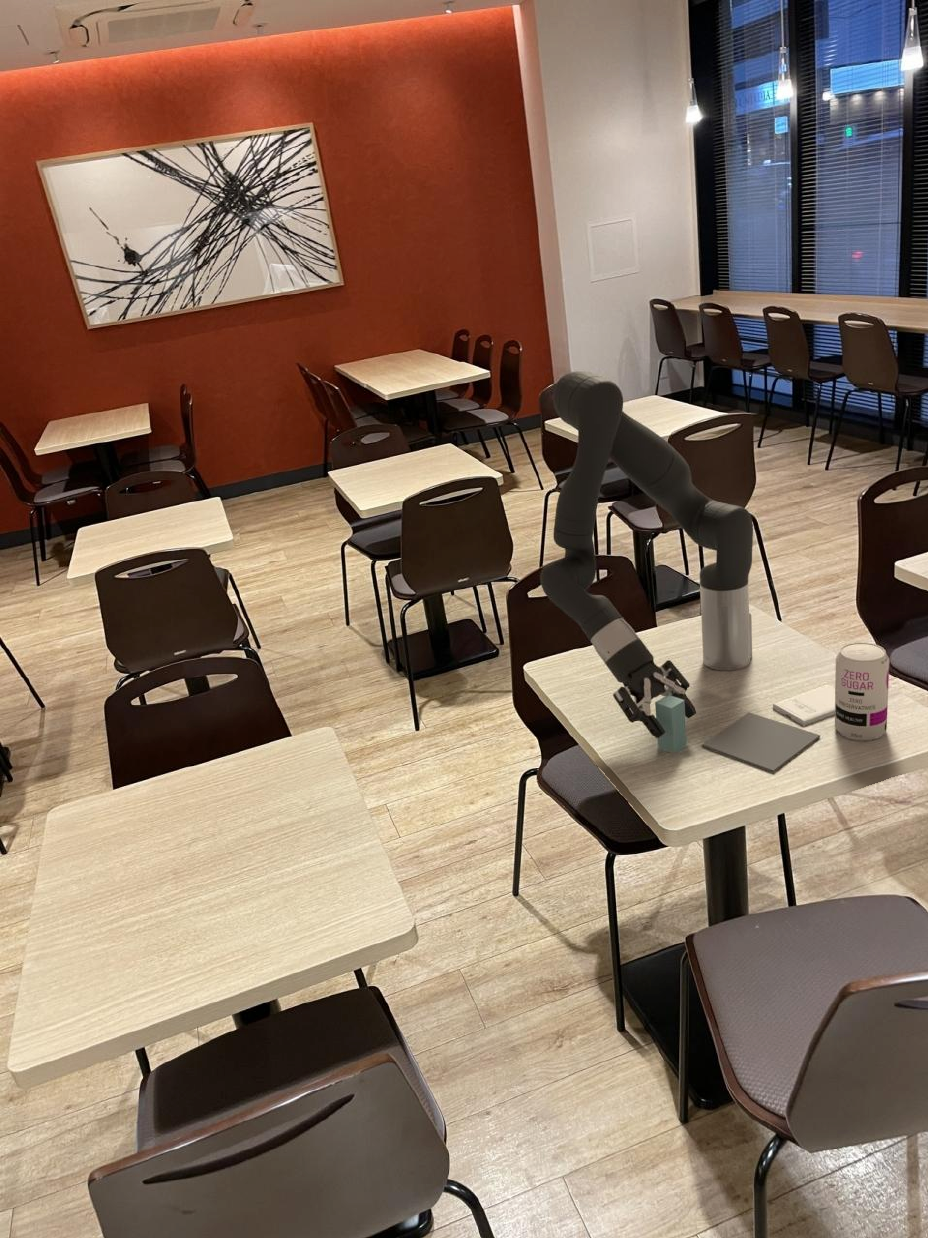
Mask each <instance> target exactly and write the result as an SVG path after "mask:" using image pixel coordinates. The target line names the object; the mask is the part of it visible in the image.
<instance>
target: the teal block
mask: <svg viewBox="0 0 928 1238" xmlns="http://www.w3.org/2000/svg"><path fill="white" fill-rule="evenodd" d="M654 706H655V718H656V719H657V720H658V722H659V723H660V724H661V726H662V727H663V729H664V730H665V734H663V735H662V736H661V737H659V738H656V739H657V748H658V749H660V750H663V751H665V752H668V753H670V754H672V755H675V754H677V753H678V752H680V751H682V750H683V749H685V748H686V747H687V746H688V745H687V743H688V741H687V726H686V725H687V723H686V722H687V721H686V716H685V701H684V700H683V699H680V698H677V697H674V696H670V695H667V696H662V697H661V698H660V699H659V700H657V701H655V704H654Z"/></svg>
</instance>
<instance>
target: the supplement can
mask: <svg viewBox="0 0 928 1238" xmlns="http://www.w3.org/2000/svg"><path fill="white" fill-rule="evenodd" d="M889 676H890V658H889V656H888V655H887V651H886V649H884V647H882V646H880V645H878V644H875V643H871V642H870V643H869V642H853V643H848V644H844V645H843V646H842V647H840V650H839V652H838V653H837V654H836V657H835V680H834V681H835V683H834V684H835V686H834V688H835V715H834V728H835V730H836V731H837V732H838V733H839V734H840V735H842V736H843V737H845V738H847V739H849V740H853V741H858V742H862V741H865V740H866V741H865V742H867V740H868V741H872V739H874V740H876V739H878V738H877V737H879V738H880V737H881V736H883V735H884V734H885V733H886V732H887V728H888V726H887V725H888V703H889V681H890V679H889V678H890V677H889ZM875 738H876V739H875Z"/></svg>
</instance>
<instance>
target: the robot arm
mask: <svg viewBox="0 0 928 1238" xmlns="http://www.w3.org/2000/svg"><path fill="white" fill-rule="evenodd" d="M552 401H553V407H554V410H555V412H556V414H557V415H558V417H559V418H560V419H561V420H562V422H564V423H566V424H567V425H569V426H571V427H572V428H574V429H575V430H577V434H578V435H577V436H578V437H577V440H578V441H577V442H578V443H577V452H576V457H575V461H574V463H573V466H572V468H571V470H570V473H569V474H568V476H567V478H566V480H565V481H564V483H563V485H562V487H561V488H560V489H561V490H560V492H559V495H558V498H557V500H556V501H557V502H556V509H555V516H554V527H553V540H554V543H555V544H556V545H557V546H559V547H560V548H562V549H564V550H565V551H564V552H565V553H564V557H562V558H559V559H556V560H553V561H551V562H549V563H547V564H545V565H543V568H542V569H541V572H540V573H539V574H540V575H539V577H540V578H539V579H540V581H539V582H540V585H541V588H542V590H543V593H544V594H545V595H546V597H547V598H548V599H549V601H551V602H552V603H553V604H554V605H555V606H556V607H558V609H560V610H561V611H562V612H563V613H564V614H566V616H568V617H569V618H571V619H572V620H574V622H575V623H577V625H578V626H579V627H580V629H581V631H582V632H583V633H584V634H585V635H586V637H587V639H588V640H589V641H590V643H591V644H592V645H593V648H594V649H595V651H596V653H597V654H598V656H599V658H600V659H601V660H602V661H603V662H604V665H605V666H606V667H607V669H609V671H610V672H611V674H612V675H613V677H614V678H615V679H616V681H617V682H618V683H621V684H623V686H620V687H619V688H618V689H617V690H616V691H615V692H613V693H612V696H613V698H614V699H615V701H616V703H617V705H618V706H619V707H620V709H621V711H622V712H623V714H624V715H625V717H626V718H627V719H628V722H630V723H631V724H632V723H635V722H641V723H642V724H643V725H644V727H645V728H646V729H647V730H648V732H649V733H650V734H651V736H653V737H655V738H656V739H657V738H659V737H661V736H662V735H663V734H665V730H664V729H663V727H662V726H661V724H660V723H659V722H658V720H657V719H656V715H654V714H652V712H651V711H652V709H651V703H652V700H653V699H655V698H658V697H659V696H662V697H665V696H667V695H670V696H674V697H677V698H680V699H683V700H684V701H685V718H687V719H691V718H692V717H693V716H695V715H696V714H697V710H696V707H695V705H694V704H693V702H692V701H691V700H690V699H689V697H688V696H687V694H686V692H687V690H688V689H689V687H691V686H690V685H691V684H690V683H689V681H688V680H687V679H686V677H684V675H683V674H682V673H681V671H680V670H679V669H678V668H677V667H676V665H675V664H674V663H673V662H672V660H666V661H665V662H664V663H663V664H661V666H658V665H657V664H656V663H655V662H654V655H653V654H652V653H651V651H650V650H649V648H647V646H646V644H645V643H644V642H643V641H642V639H641V637H639V635H638V633H636V632H635V630H634V629H633V628H632V626H631V625H630V624H629V623H628V622H627V621H626V620H625V619H624V617H623V616H622V614H620V612H619V611H618V609H617V608H616V607H615V606H614V604H613V603H612V602H611V601H610V600H609V598H608V597H607V596H605V595H604V594H603V595H601V594H597V595H596V594H592V593H589V592H588V591H587V590H588V589H589V588H590V587H591V586H592V585H593V583H594V581H595V578H596V574H597V563H596V554H595V545H594V539H593V537H594V531H595V523H596V516H597V511H598V505H599V504H598V503H599V496H600V491H601V487H602V483H603V480H604V476H605V473H606V472H605V471H606V469H607V466H608V462H609V459H610V460H611V462H612V463H614V465H615V466H616V467H617V468H618V469H619V470H620V471H621V472H622V473H623V474H624V475H625V476H626V477H627V478H628V479H629V480H630V482H632V483H633V485H635V486H636V487H638V488H639V490H641V491H642V492H643V493H644V494H646V495H647V496H648V497H649V498H650V499H652V500H653V501H654V502H655V503H656V504H657V505H658V506H660V508H662V509H663V510H665V512H667V513H668V514H669V515H670V516H671V517H672V518H673V519H674V520H675V521H676V522H677V523H678V525H679V526H680V527H681V529H683V532H685V533H686V535H687V536H688V537H689V538H690V539H691V540H692V542H694V543H695V544H696V545H698V546H699V547H702V548H705V549H708V550H712V551H715V552H716V558H715V559H716V560H715V562H713V563H710V564H709V563H708V565H705V566H704V567H702V568H701V570H700V571H699V591H700V593H699V594H700V595H699V596H700V613H701V615H700V616H701V617H700V618H701V637H702V659H703V660H702V661H703V664H704V665H705V666H706V667H707V668H710V669H713V670H716V671H726V672H727V671H729V672H730V671H737V670H741V669H743V668H746V667H747V666H748V665H749V664H750V662H751V658H752V657H753V630H752V629H753V628H752V626H753V625H752V614H751V613H750V599H749V597H750V595H749V594H750V593H749V588H750V587H749V575H750V572H751V568H752V563H753V562H752V561H753V547H754V546H753V544H754V540H753V539H754V524H753V519H752V516H751V513H750V511H748V510H747V509H746V508H745V507H744V506H743V507H742V506H740V505H736V504H732V503H731V504H730V503H726V502H721V501H717V500H715V499H711V498H709V496H707V495H705V494H704V493H702V491H701V490H699V489H698V488H697V487H696V486H695V484H693V481H692V480H693V479H692V473H691V469H690V465H689V463H687V461H686V459H685V458H684V457H683V456H682V454H680V453H679V452H678V451H677V450H676V449H675V448H674V447H673V446H672V444H670V443H669V442H668V441H667V440H666V439H664V438H663V437H661V436H660V435H658V433H656V432H655V431H653V430H651V429H650V428H648V426H645V425H644V424H643V423H641V422H639V421H637V420H636V419H634V418H633V417H631V416H630V415H628V413H625V411H623V410H624V396H623V392H622V390H621V388H620V387H619V386H618V385H617V384H616V383H615V382H613V381H612V380H610V379H607V378H606V377H603V376H600V375H597V374H595V373H592V372H589V371H585V370H583V371H582V370H581V371H579V370H577V371H570V372H568V373H566V374H564V375H563V376H561V377H560V379H559V380H558V381H556V384H555V386H554V389H553V395H552ZM632 697H633V698H632Z"/></svg>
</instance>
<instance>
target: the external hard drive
mask: <svg viewBox="0 0 928 1238" xmlns="http://www.w3.org/2000/svg"><path fill="white" fill-rule="evenodd" d="M772 709H774V710H775V711H777V712H779V713H780V714H782V715H785V716H787V717H788V718H790V719H791V720H793V721H795V722H796V723H798V724H800V725H802V726H803V727H805V726H808V725H810V724H813V723H815V722H818V721H820V720H821V721H822V720H823V719H825V718H826V719H827V718H829V717H832V716H835V686H832V685H830V684H825V685H822V686H819V687H816V688H813V689H811V690H808V691H805V692H803V693H800V694H797V695H794V696H792V697H789V698H786V699H784V700H781V701H777V702H775V703H773V704H772Z"/></svg>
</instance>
